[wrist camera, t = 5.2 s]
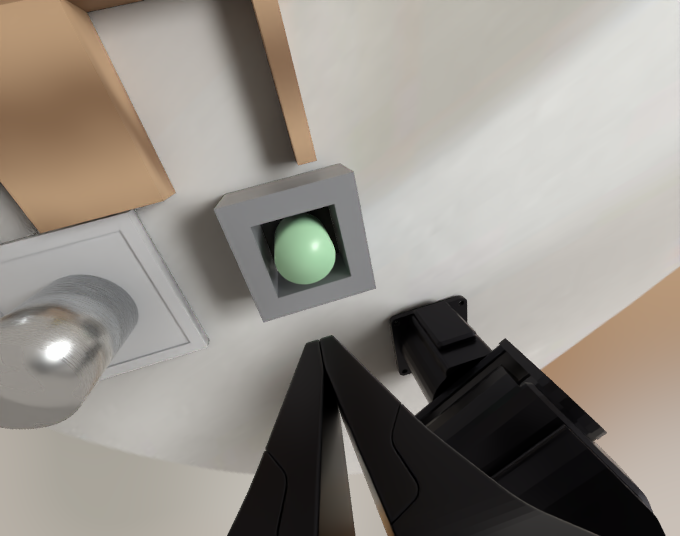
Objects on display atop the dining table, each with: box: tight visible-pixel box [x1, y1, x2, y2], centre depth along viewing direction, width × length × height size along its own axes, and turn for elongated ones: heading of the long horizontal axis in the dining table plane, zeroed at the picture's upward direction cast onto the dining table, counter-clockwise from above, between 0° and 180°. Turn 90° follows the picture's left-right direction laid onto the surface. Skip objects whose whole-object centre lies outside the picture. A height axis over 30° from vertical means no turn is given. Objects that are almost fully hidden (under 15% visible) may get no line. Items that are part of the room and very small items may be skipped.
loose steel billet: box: [0, 275, 138, 429], centre depth 15 cm, size 5×5×6 cm
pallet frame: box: [0, 0, 317, 233], centre depth 13 cm, size 10×22×2 cm, turn 103°
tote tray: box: [0, 209, 210, 381], centre depth 18 cm, size 10×10×1 cm
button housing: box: [214, 164, 376, 322], centre depth 17 cm, size 7×7×4 cm
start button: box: [274, 213, 335, 284], centre depth 16 cm, size 3×3×3 cm
